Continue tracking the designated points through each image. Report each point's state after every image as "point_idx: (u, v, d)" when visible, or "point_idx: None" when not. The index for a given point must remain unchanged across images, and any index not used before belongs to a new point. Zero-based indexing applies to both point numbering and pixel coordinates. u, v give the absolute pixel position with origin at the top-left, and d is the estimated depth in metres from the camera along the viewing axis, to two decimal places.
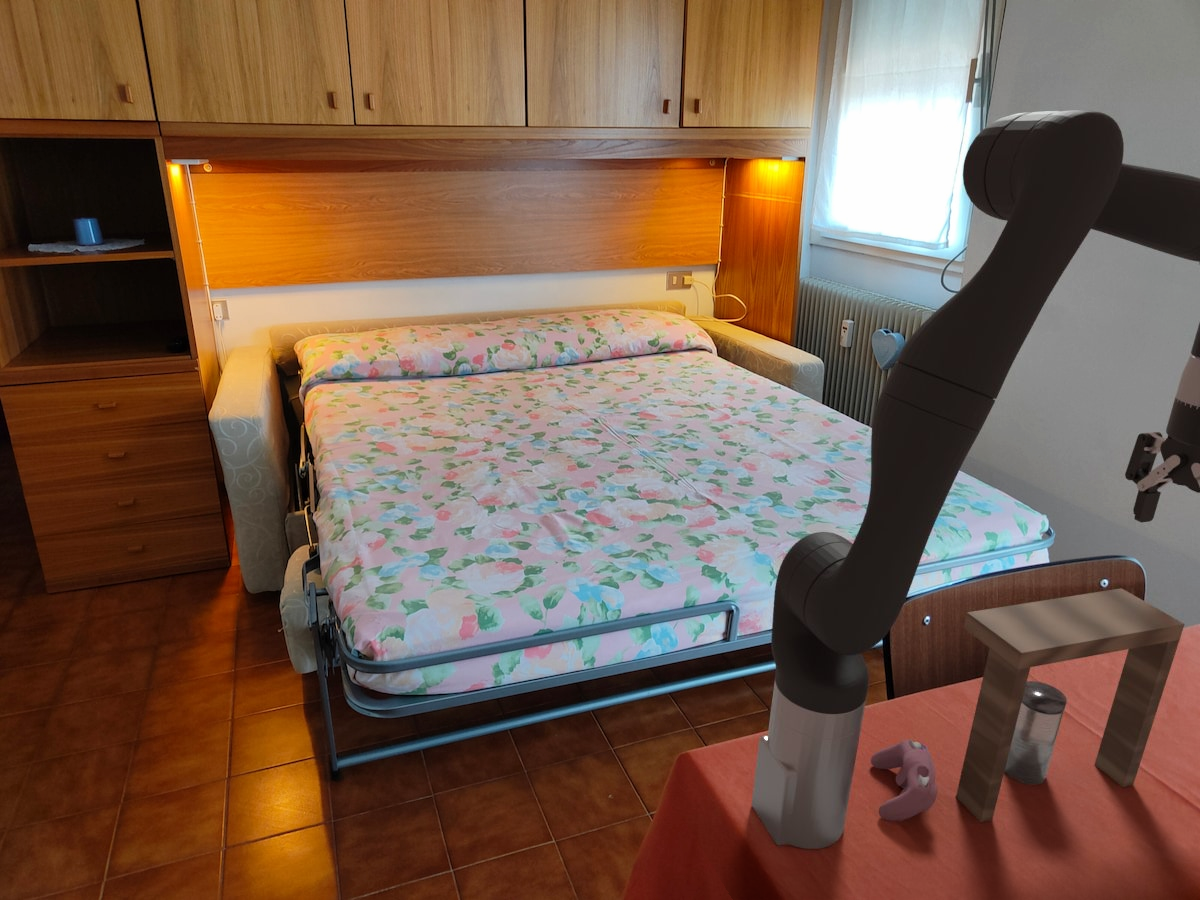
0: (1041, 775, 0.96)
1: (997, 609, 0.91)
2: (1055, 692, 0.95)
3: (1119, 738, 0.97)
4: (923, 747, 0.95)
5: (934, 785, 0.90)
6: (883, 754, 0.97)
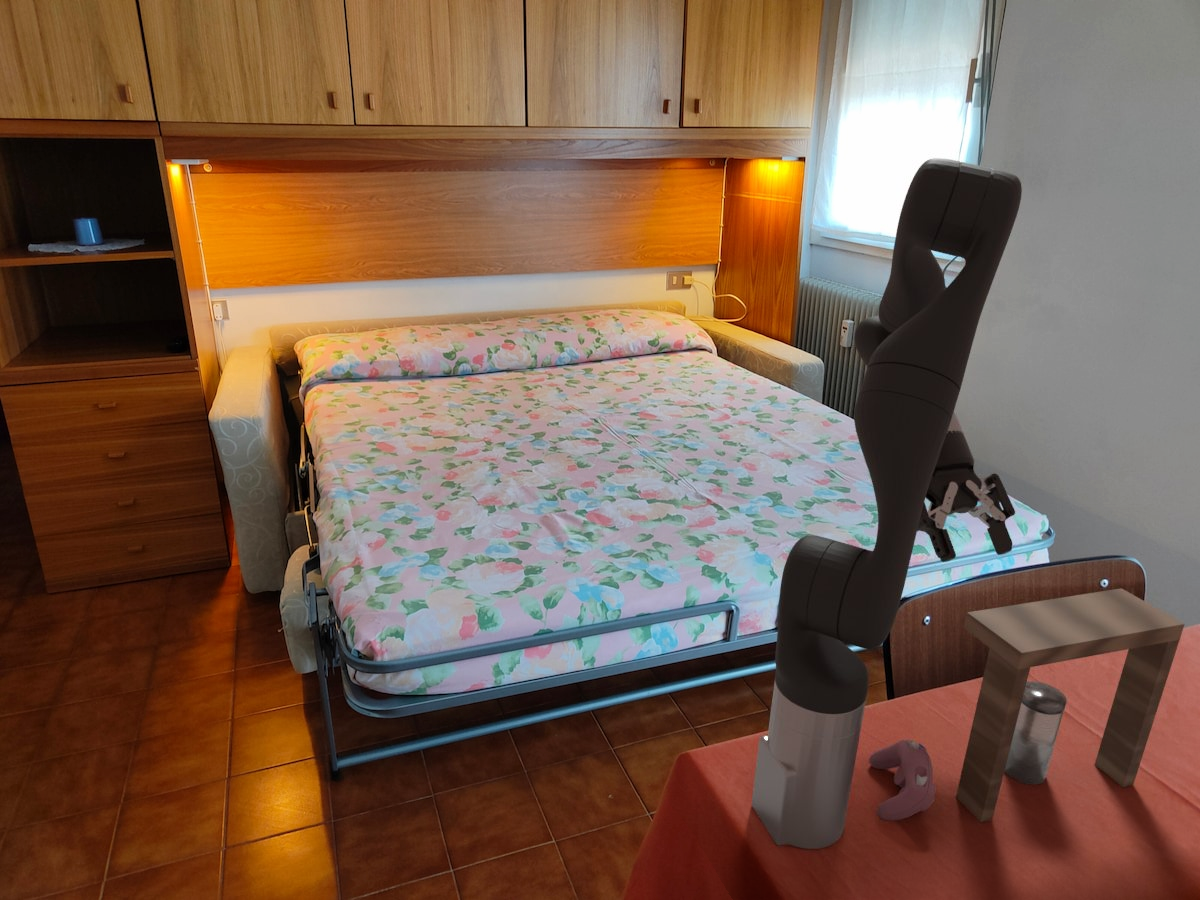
0: (1041, 775, 0.96)
1: (997, 609, 0.91)
2: (1054, 693, 0.95)
3: (1119, 738, 0.97)
4: (921, 747, 0.95)
5: (932, 785, 0.90)
6: (881, 754, 0.97)
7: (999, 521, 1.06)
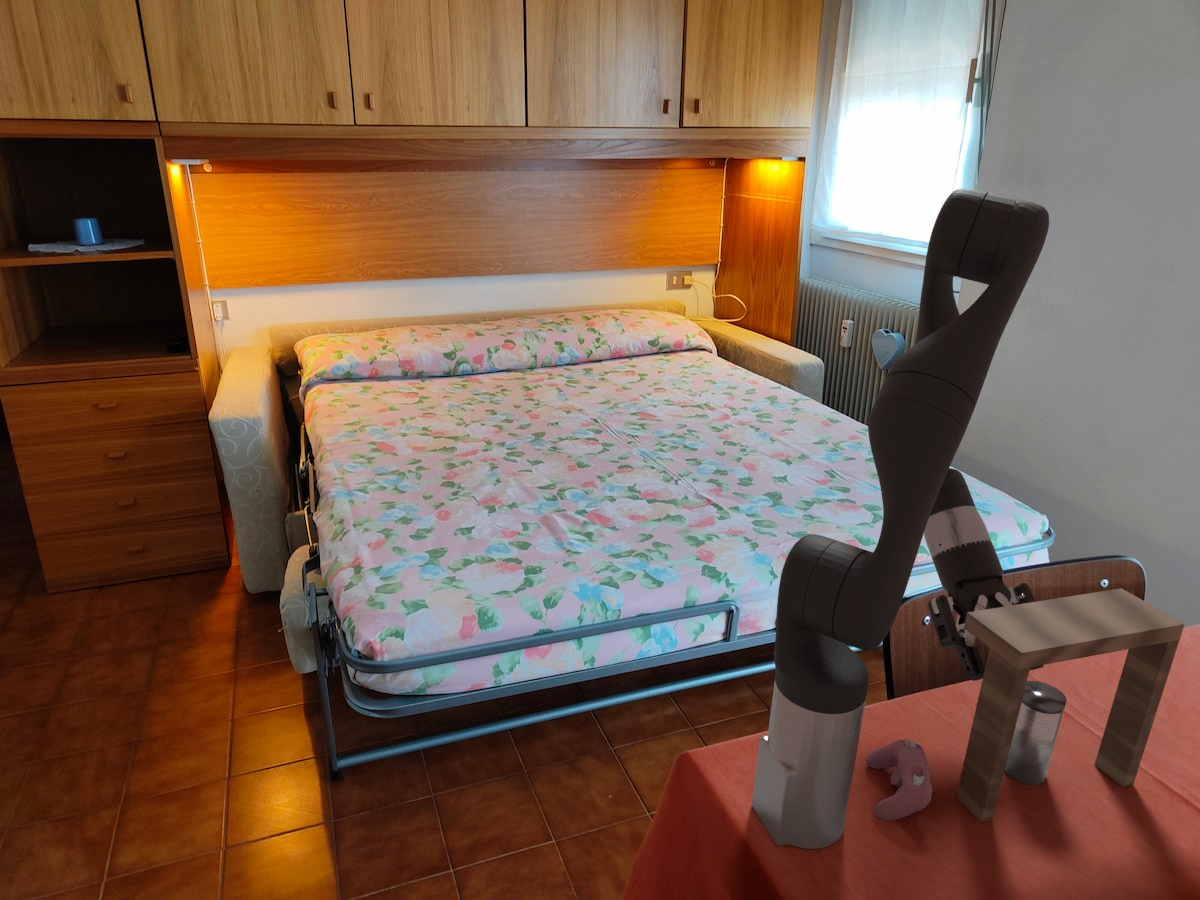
0: (1042, 775, 0.96)
1: (997, 609, 0.91)
2: (1054, 692, 0.95)
3: (1119, 738, 0.97)
4: (918, 747, 0.95)
5: (929, 784, 0.90)
6: (878, 754, 0.97)
7: None
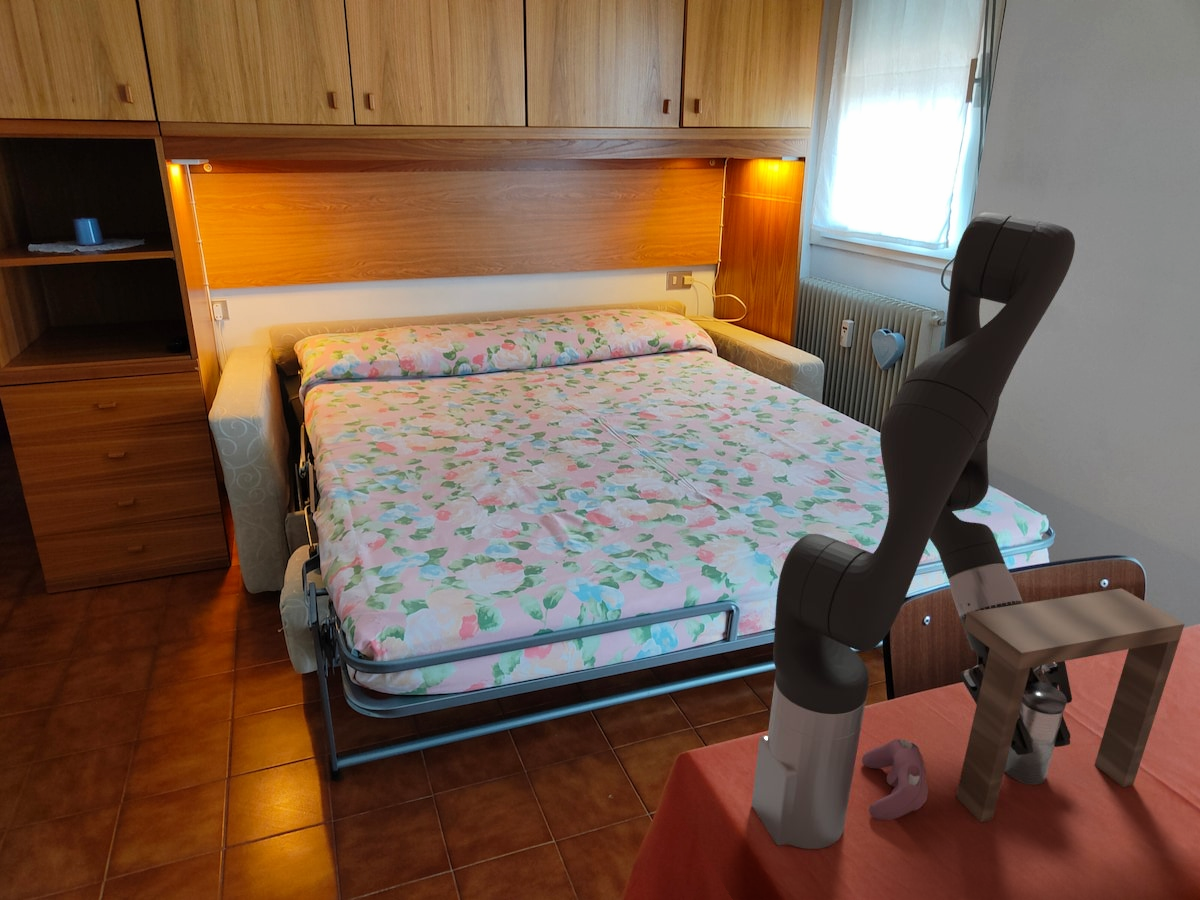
0: (1042, 775, 0.96)
1: (997, 609, 0.91)
2: (1055, 692, 0.95)
3: (1119, 738, 0.97)
4: (914, 746, 0.95)
5: (925, 784, 0.90)
6: (874, 753, 0.97)
7: None
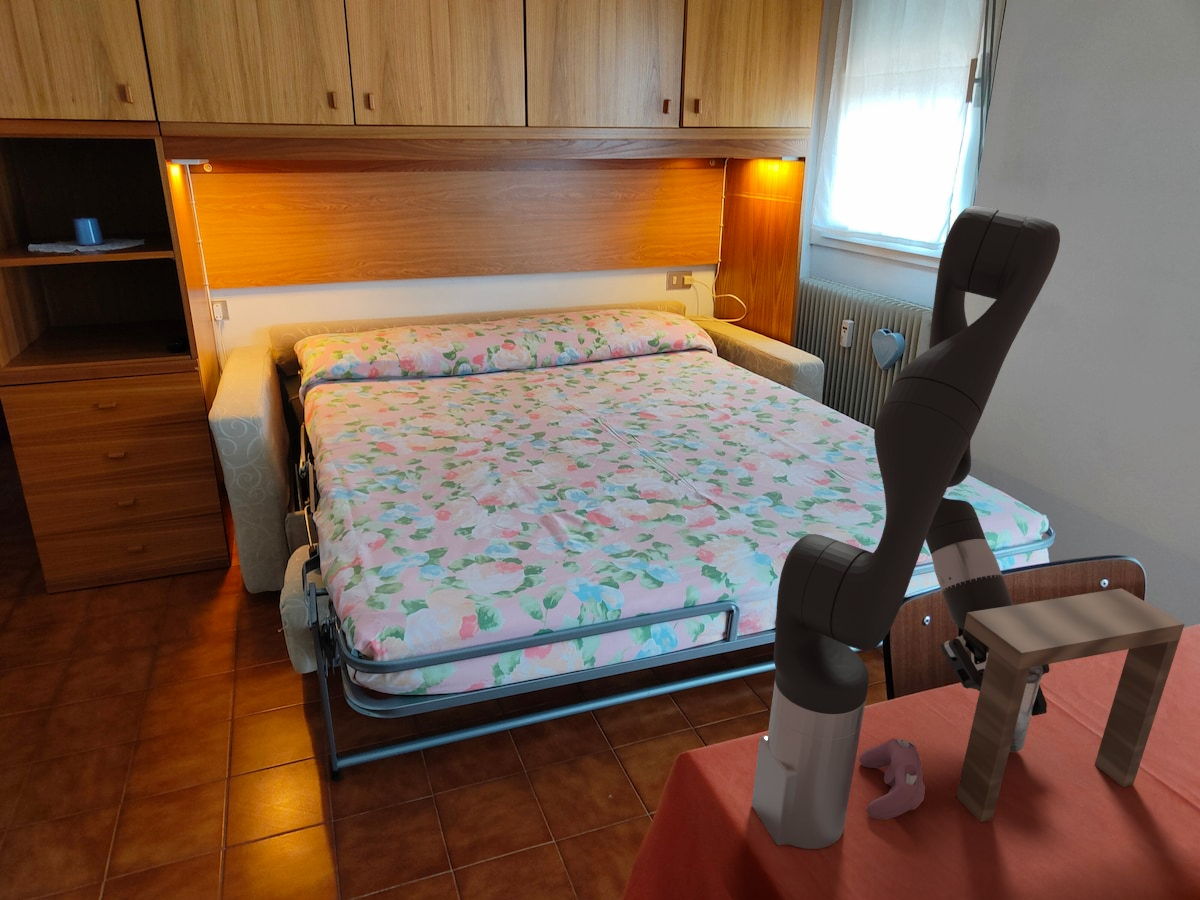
0: (1019, 743, 0.99)
1: (997, 609, 0.91)
2: None
3: (1119, 738, 0.97)
4: (911, 746, 0.95)
5: (922, 783, 0.90)
6: (871, 753, 0.98)
7: None
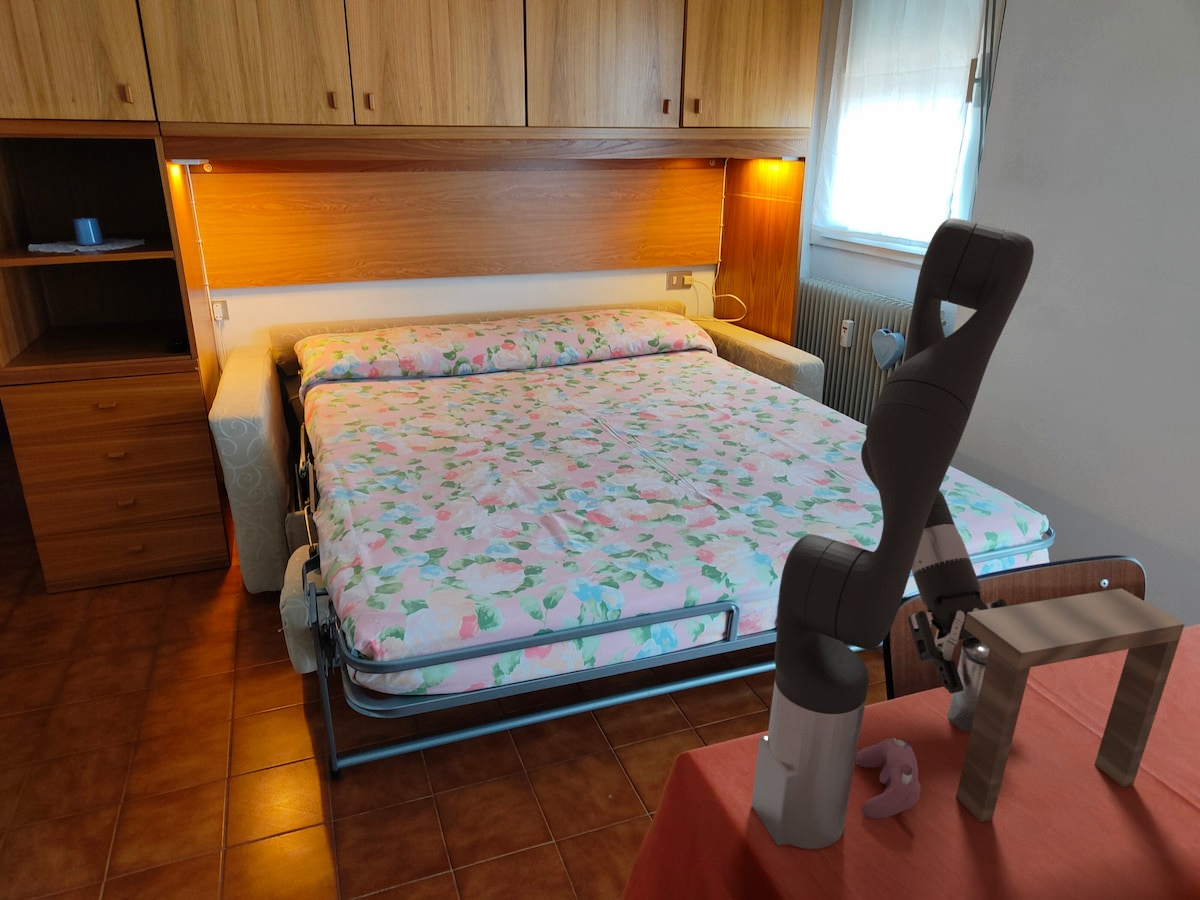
0: None
1: (997, 609, 0.91)
2: None
3: (1119, 738, 0.97)
4: (906, 745, 0.95)
5: (917, 783, 0.90)
6: (867, 752, 0.98)
7: None
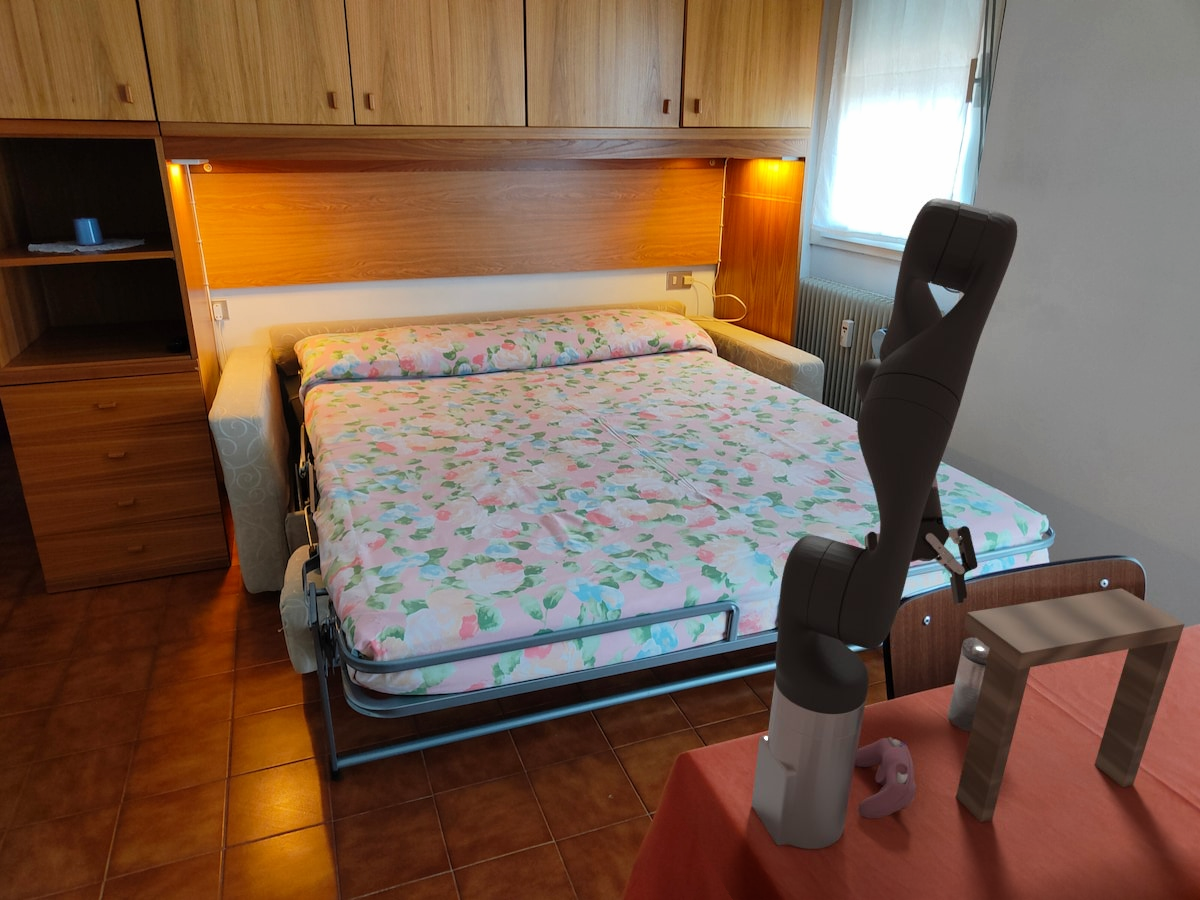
0: None
1: (997, 609, 0.91)
2: None
3: (1119, 738, 0.97)
4: (902, 744, 0.95)
5: (912, 782, 0.90)
6: (863, 752, 0.98)
7: (957, 574, 1.12)
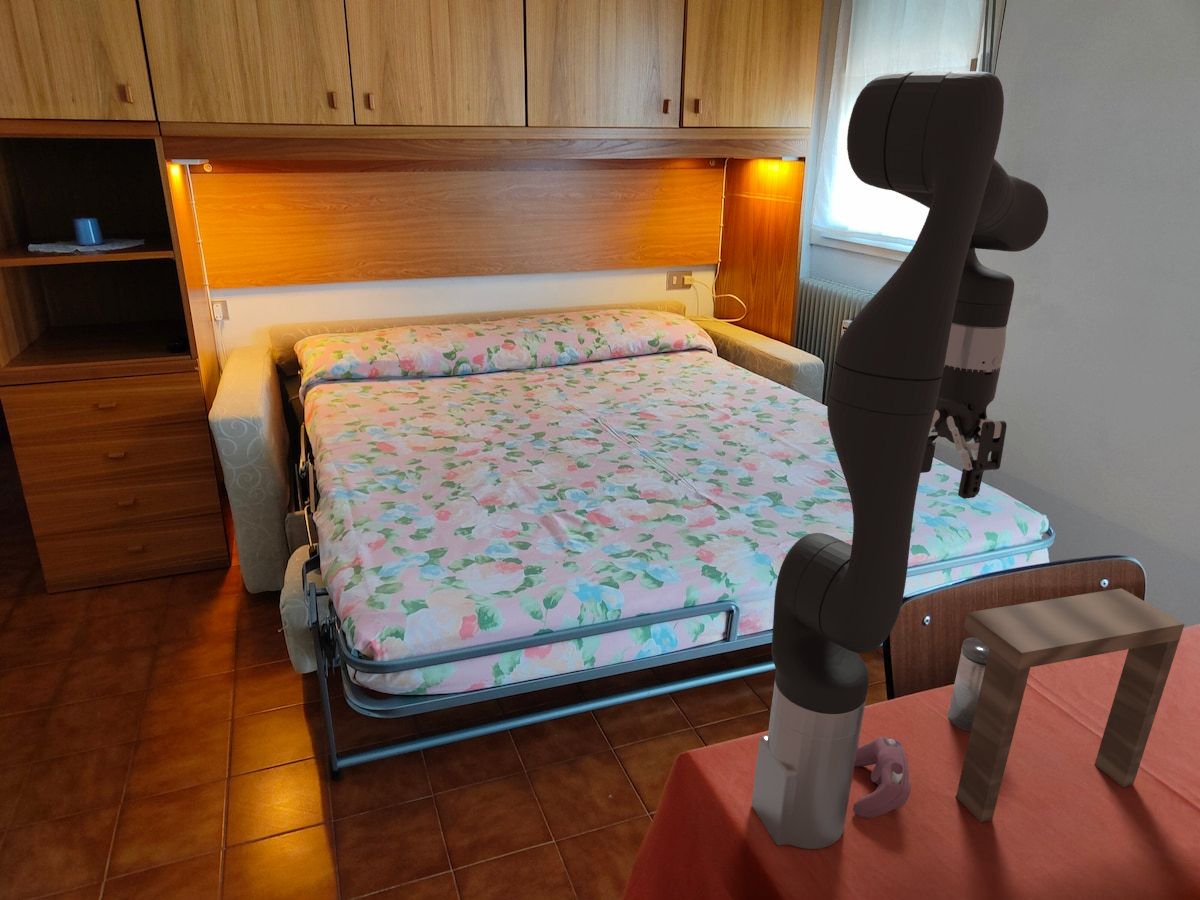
0: None
1: (997, 609, 0.91)
2: None
3: (1119, 738, 0.97)
4: (897, 744, 0.95)
5: (908, 782, 0.90)
6: (858, 751, 0.98)
7: None
